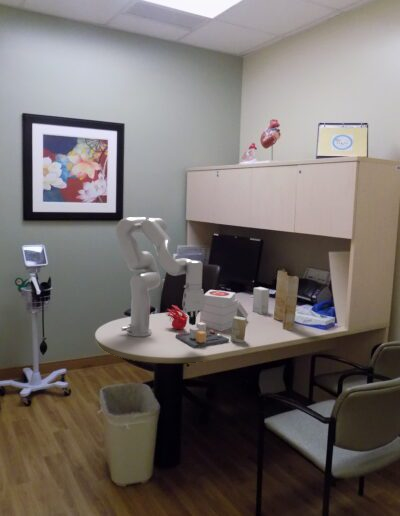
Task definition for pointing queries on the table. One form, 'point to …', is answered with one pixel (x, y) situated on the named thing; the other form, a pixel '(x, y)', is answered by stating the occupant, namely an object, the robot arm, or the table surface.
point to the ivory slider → (201, 326)
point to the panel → (211, 339)
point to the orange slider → (201, 336)
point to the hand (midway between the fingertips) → (192, 324)
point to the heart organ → (177, 318)
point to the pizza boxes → (221, 309)
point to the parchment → (286, 299)
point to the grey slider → (193, 332)
